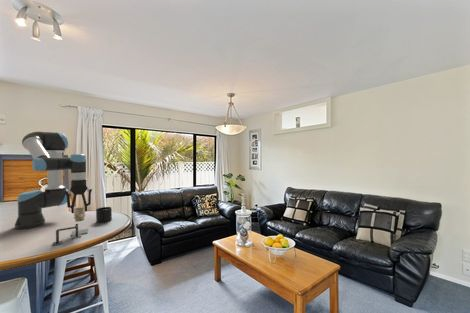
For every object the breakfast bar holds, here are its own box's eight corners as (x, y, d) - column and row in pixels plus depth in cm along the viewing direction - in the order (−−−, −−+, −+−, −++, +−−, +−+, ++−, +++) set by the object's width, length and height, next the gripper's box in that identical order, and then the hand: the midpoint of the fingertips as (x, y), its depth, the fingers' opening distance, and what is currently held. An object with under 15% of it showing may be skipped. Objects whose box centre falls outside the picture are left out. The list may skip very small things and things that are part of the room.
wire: (55, 239, 118) (54, 225, 118) (81, 235, 125) (81, 221, 125) (52, 246, 110) (51, 231, 110) (80, 240, 117) (80, 226, 117)
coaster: (72, 232, 130) (72, 231, 130) (87, 229, 134) (87, 228, 134) (70, 236, 123) (70, 235, 123) (87, 233, 127) (87, 232, 127)
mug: (93, 224, 143) (93, 211, 143) (98, 219, 155) (97, 207, 155) (109, 223, 147) (109, 210, 147) (112, 218, 158) (112, 206, 158)
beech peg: (74, 222, 125) (74, 208, 125) (75, 220, 129) (75, 207, 129) (84, 220, 128) (83, 207, 128) (84, 219, 131) (83, 206, 131)
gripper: (59, 181, 120) (60, 221, 121) (95, 178, 130) (96, 216, 130) (61, 180, 127) (62, 218, 127) (95, 177, 136) (96, 213, 136)
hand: (79, 217), depth 128 cm, fingers closed on beech peg, 4 cm apart
